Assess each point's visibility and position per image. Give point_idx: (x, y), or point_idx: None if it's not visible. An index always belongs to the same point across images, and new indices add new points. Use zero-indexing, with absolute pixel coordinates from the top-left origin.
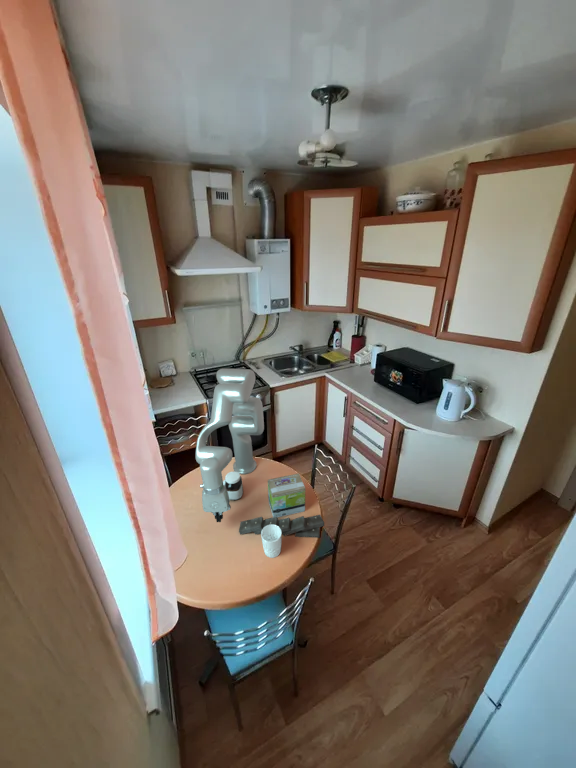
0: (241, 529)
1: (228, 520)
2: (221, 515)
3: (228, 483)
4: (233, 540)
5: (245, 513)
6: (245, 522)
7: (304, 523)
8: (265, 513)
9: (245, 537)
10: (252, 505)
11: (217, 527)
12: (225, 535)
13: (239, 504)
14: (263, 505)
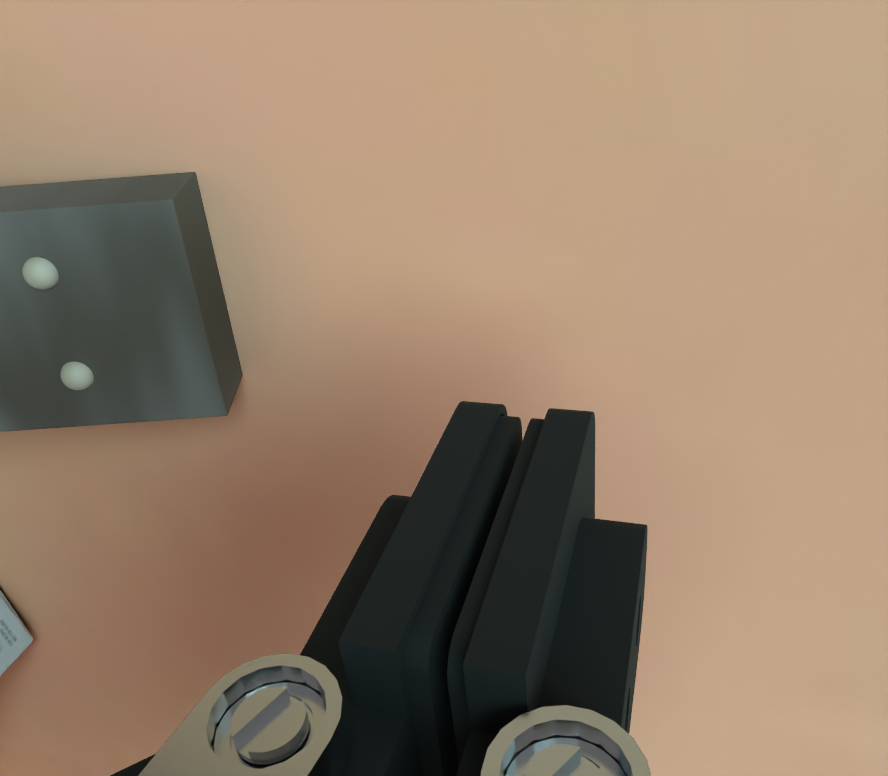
0: (126, 244)
1: None
2: (324, 625)
3: None
4: (277, 26)
5: (263, 551)
6: (103, 384)
7: None
8: (6, 506)
9: (84, 104)
10: (216, 643)
11: (696, 359)
12: (480, 157)
13: None
14: (84, 615)
